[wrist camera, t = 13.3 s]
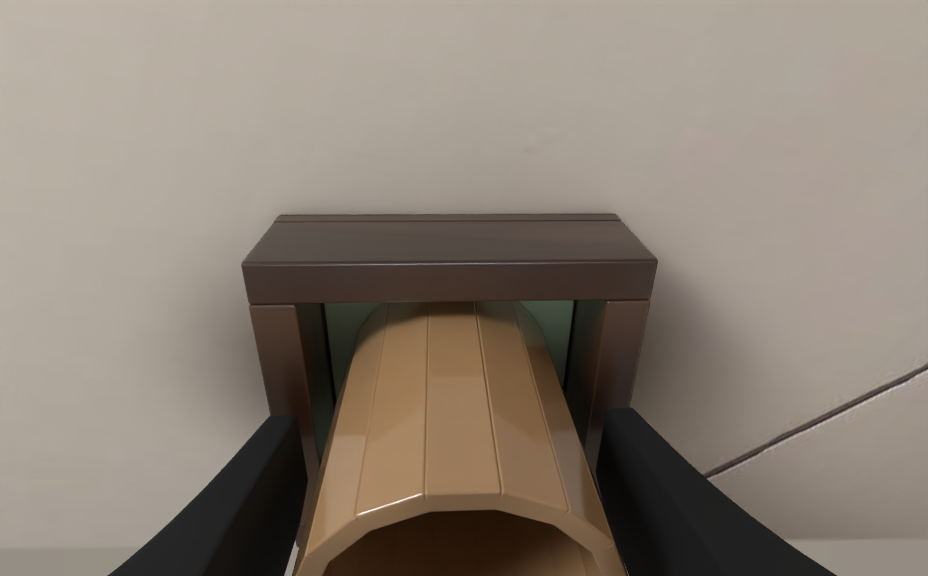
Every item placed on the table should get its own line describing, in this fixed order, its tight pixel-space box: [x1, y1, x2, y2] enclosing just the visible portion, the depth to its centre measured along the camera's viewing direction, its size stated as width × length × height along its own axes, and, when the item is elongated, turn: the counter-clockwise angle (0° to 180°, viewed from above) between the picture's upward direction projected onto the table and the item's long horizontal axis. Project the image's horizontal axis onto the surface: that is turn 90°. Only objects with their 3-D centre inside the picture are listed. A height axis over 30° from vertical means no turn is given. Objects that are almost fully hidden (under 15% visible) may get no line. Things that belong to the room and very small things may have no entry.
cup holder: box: [241, 214, 658, 547], centre depth 14 cm, size 9×9×3 cm
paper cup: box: [292, 301, 628, 576], centre depth 12 cm, size 6×6×7 cm
